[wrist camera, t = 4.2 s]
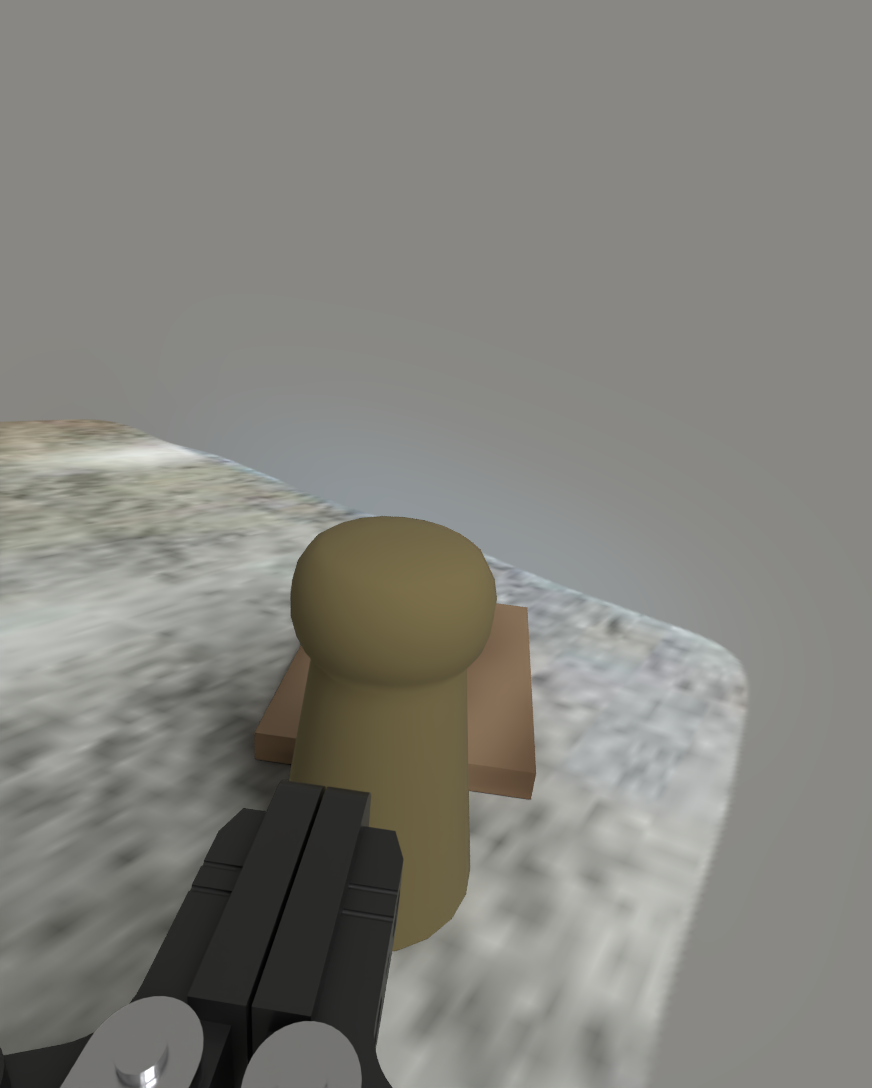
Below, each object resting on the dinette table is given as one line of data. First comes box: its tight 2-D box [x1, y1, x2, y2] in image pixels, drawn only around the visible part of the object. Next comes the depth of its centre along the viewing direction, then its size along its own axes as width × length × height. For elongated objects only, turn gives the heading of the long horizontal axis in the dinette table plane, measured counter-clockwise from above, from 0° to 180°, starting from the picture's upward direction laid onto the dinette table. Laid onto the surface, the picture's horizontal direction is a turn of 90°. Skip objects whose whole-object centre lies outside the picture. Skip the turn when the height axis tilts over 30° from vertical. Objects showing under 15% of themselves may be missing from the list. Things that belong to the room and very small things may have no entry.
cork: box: [289, 516, 497, 951], centre depth 19 cm, size 6×6×11 cm
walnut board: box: [254, 604, 536, 799], centre depth 29 cm, size 10×12×1 cm
